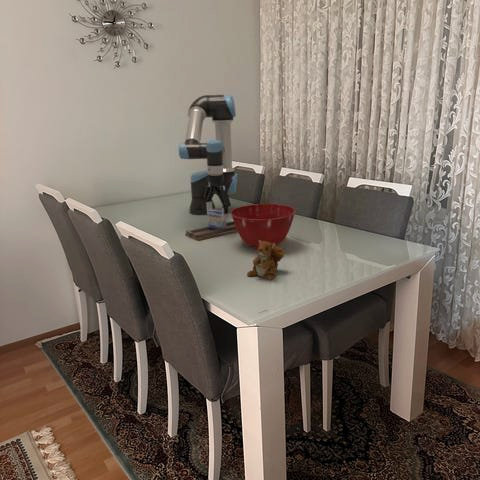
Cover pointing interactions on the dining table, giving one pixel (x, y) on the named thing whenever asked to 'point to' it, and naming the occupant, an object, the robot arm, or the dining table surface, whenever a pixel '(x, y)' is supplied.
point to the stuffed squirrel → (266, 260)
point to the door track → (211, 232)
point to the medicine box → (216, 219)
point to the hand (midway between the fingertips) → (217, 217)
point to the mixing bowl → (263, 223)
